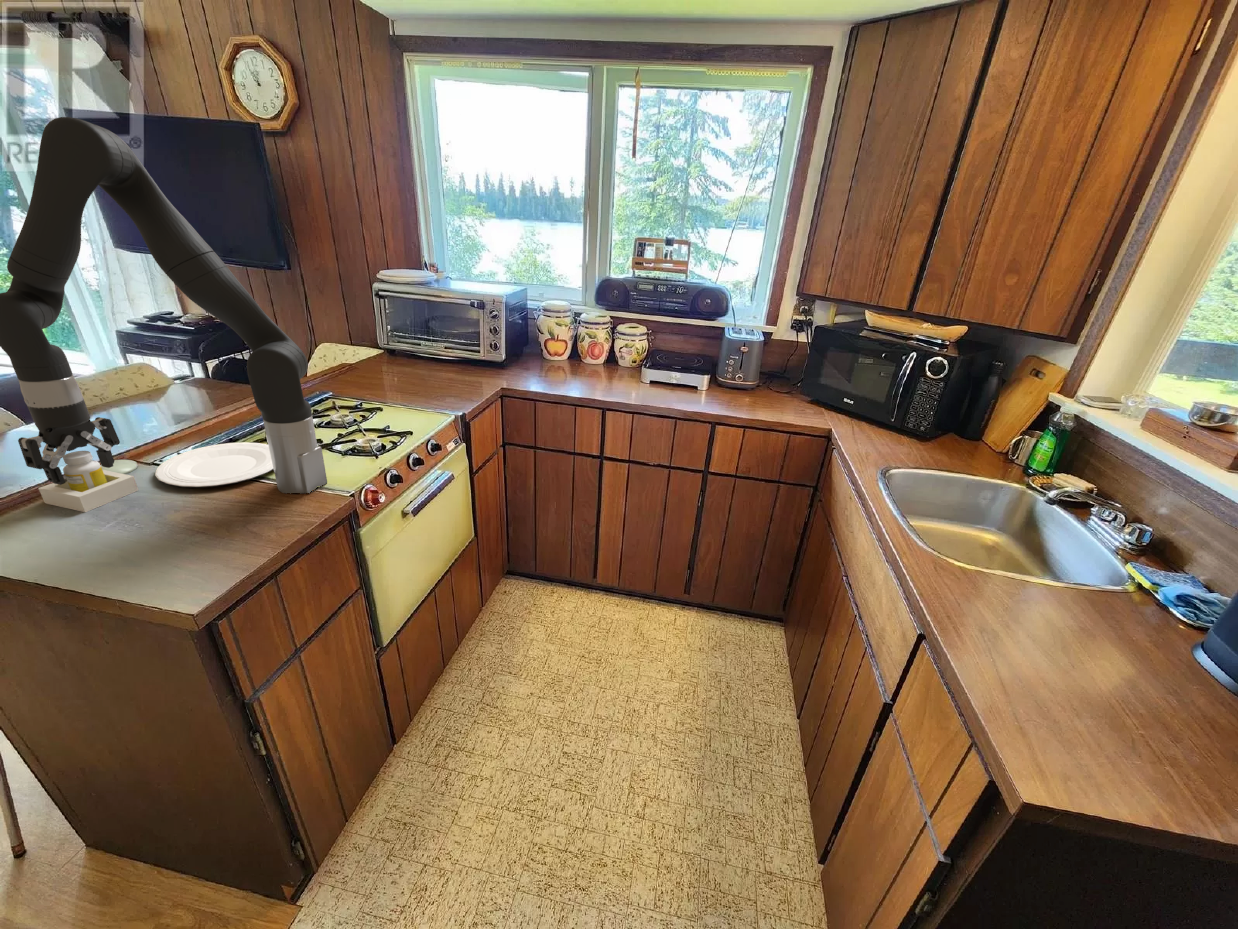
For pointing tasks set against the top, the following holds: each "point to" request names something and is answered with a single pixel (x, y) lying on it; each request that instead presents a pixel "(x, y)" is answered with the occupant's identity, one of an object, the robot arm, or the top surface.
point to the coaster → (122, 466)
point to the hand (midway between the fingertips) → (84, 474)
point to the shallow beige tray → (89, 492)
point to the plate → (216, 465)
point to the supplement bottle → (82, 471)
